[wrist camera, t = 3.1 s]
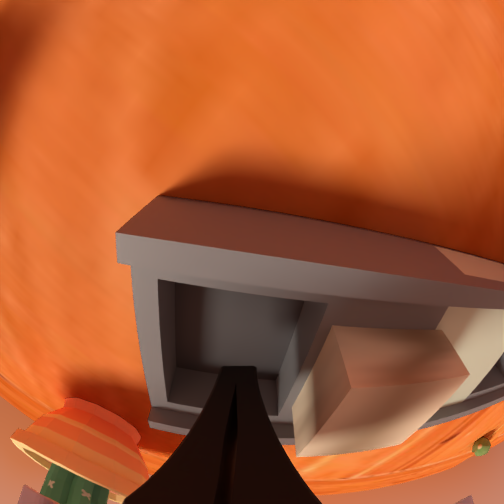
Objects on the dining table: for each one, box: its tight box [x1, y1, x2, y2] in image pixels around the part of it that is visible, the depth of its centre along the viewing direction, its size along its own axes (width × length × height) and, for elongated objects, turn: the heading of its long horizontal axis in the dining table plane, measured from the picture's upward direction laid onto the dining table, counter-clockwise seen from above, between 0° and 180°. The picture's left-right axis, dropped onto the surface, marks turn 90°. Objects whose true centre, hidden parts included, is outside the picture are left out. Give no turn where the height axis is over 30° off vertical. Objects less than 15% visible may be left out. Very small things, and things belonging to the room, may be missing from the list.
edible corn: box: [472, 437, 491, 456], centre depth 33 cm, size 5×20×5 cm
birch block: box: [292, 325, 470, 457], centre depth 10 cm, size 6×6×3 cm
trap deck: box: [116, 195, 504, 445], centre depth 13 cm, size 32×12×4 cm, turn 81°
